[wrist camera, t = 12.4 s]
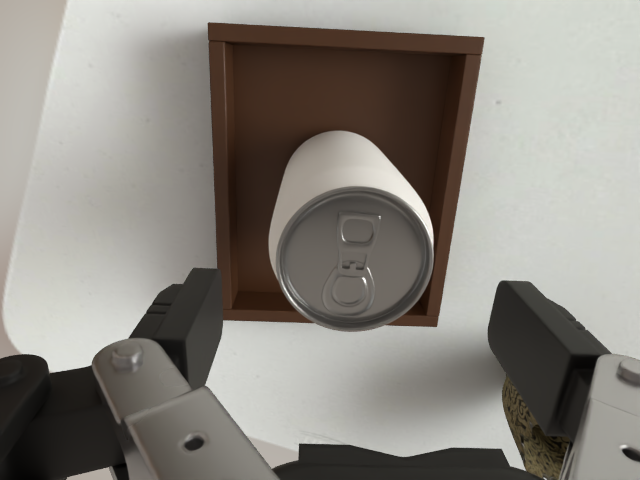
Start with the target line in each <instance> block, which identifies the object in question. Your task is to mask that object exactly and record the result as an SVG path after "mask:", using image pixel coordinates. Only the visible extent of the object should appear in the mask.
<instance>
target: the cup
mask: <svg viewBox="0 0 640 480" xmlns="http://www.w3.org/2000/svg"><path fill="white" fill-rule="evenodd" d="M502 402H503V408H504V412H505V415H506V419H507V422H508V424H509V427H510V430H511V432H512V435H513V438H514V440H515V443H516V445H517V448H518V450H519V453H520V455H521V458H522V460H523V464H524V467H525V469H526V471H527V472H529V473H532V474H534V475H536V476H539V477H541V478H544V477H545V478H546V479H547V480H559V476H560V473H561V469H562V465H563V461H564V458H565V454H566V451H567V448H568V445H569V442H570V439H569V438H568V437H559V436H545V434H544V433H543V431H542V429H541V428H540V426H539V425H538V423H537V421H536V420H535V418H534V417H533V415H532V414H531V412H530V410H529V409H528V407H527V406H526V404H525V402H524V401H523V399H522V398H521V396H520V394H519V393H518V391H517V390H516V388H515V387H514V385H513V383H512V382H511V380H510V379H509V377H508V375H507V374H506V379H505V382H504V385H503V390H502Z"/></svg>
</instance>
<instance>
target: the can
mask: <svg viewBox="0 0 640 480" xmlns="http://www.w3.org/2000/svg"><path fill="white" fill-rule="evenodd" d="M433 242H434V239H433V228H432V224H431V220H430V217H429V214H428V212H427V209H426V207H425V205H424V203H423V202H422V200H421V198H420V197H419V196H418V194H417V193H416V191H415V190H414V189H413V188H412V186H411V185H410V184H409V183H408V182H407V180H406V179H405V178H404V177H403V176H402V174H401V173H400V172H399V171H398V170H397V169H396V168H395V166H394V165H393V164H392V163H391V162H390V161H389V160H388V158H387V157H386V156H385V155H384V154H383V153H382V152H381V151H380V150H379V148H378V147H377V146H375V145H374V144H373V143H372V142H371V141H369V140H368V139H366V138H365V137H363V136H361V135H358V134H356V133H352V132H348V131H328V132H324V133H321V134H318V135H316V136H313V137H312V138H310V139H308V140H307V141H305V142H304V143H303V144H302V145H301V146H300V147H299V148H298V149H297V150H296V151H295V152H294V154H293V155H292V157H291V158H290V160H289V162H288V164H287V167H286V169H285V173H284V176H283V179H282V183H281V186H280V190H279V194H278V197H277V201H276V205H275V209H274V213H273V217H272V221H271V226H270V231H269V256H270V261H271V265H272V268H273V271H274V273H275V275H276V278H277V279H278V281H279V284H280V287H281V289H282V291H283V293H284V295H285V296H286V298H287V299H288V301H289V302H290V303H291V305H292V306H293V307H294V308H295V309H296V310H297V311H298V312H299V313H300V314H302V315H303V316H304V317H306V318H307V319H309V320H310V321H312V322H314V323H316V324H318V325H320V326H323V327H326V328H329V329H333V330H338V331H347V332H357V331H366V330H371V329H375V328H378V327H381V326H384V325H386V324H389V323H391V322H393V321H394V320H396V319H398V318H399V317H401V316H402V315H404V314H405V313H406V312H407V311H408V310H410V309H411V308H412V307H413V306H414V305H415V303H416V302H417V301H418V300H419V298H420V297H421V296H422V294H423V292H424V291H425V289H426V287H427V285H428V283H429V280H430V277H431V274H432V269H433V262H434V251H433Z"/></svg>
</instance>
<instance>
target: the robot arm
mask: <svg viewBox="0 0 640 480" xmlns="http://www.w3.org/2000/svg"><path fill="white" fill-rule="evenodd" d="M222 328H223V302H222V276H221V270H220V269H210V268H193V269H192V270H191V272H190V274H189V275H188V277H187V279H186V280H185V282H184V284H172V285H171V286H169V287H167V288H166V289H164V290H163V291H161V292H160V293H159V294H158V295H157V297H156V298H155V300H154V301H153V303H152V305H151V306H150V307H149V309H148V310H147V312H146V314H145V315H144V316H143V317H142V319H141V320H140V322H139V323H138V325H137V326H136V328H135V329H134V331H133V332H132V334H131V335H130V337H129V338H128V339H125V340H121V341H118V342H115V343H112V344H110V345H108V346H106V347H105V348H103V349H102V350H100V351H99V352H98V353H97V354H96V355H95V357H94V358H93V361H92V365H91V366H88V367H84V368H79V369H73V370H67V371H61V372H55V373H49V369H48V365H47V362H46V361H45V359H43V358H42V357H39V356H37V355H29V354H22V355H13V356H9V357H4V358H1V359H0V480H66V479H67V477H70V476H73V475H78V474H82V473H86V472H90V471H94V470H98V469H103V468H107V467H109V469H110V472H111V475H112V477H113V480H545V479H543V478H541V477H539V476H536V475H534V474H532V473H529V472H527V471H524V470H521V469H518V468H514V467H510V465H509V463H508V461H507V459H506V457H505V455H504V453H503V451H502V449H483V448H448V449H444V450H439V451H434V452H429V453H424V454H420V455H415V456H410V457H398V456H394V455H390V454H385V453H381V452H377V451H373V450H369V449H364V448H360V447H356V446H352V445H331V444H299V460H298V461H293V462H289V463H286V464H283V465H280V466H277V467H275V468H273V469H271V467H270V466H269V465H268V463H267V462H266V461H265V460H264V458H263V457H262V456H261V454H260V453H259V452H258V451H257V449H256V448H255V447H254V445H253V444H252V443H251V442H250V440H249V439H248V438H247V436H246V435H245V434H244V433H243V431H242V430H241V429H240V427H239V426H238V425H237V424H236V422H235V421H234V420H233V418H232V417H231V416H230V414H229V413H228V412H227V411H226V409H225V408H224V407H223V405H222V404H221V403H220V402H219V400H218V399H217V398H216V396H215V395H214V394H213V393H212V391H211V390H210V389H209V388H208V387H207V386H205V384H206V381H207V378H208V375H209V372H210V369H211V366H212V363H213V360H214V357H215V354H216V351H217V348H218V345H219V342H220V339H221V335H222ZM488 342H489V345H490V348H491V350H492V352H493V353H494V355H495V356H496V358H497V360H498V361H499V363H500V364H501V366H502V367H503V369H504V371H505V372H506V374H507V375H508V377H509V379H510V380H511V382H512V383H513V385H514V387H515V388H516V390H517V391H518V393H519V394H520V396H521V398H522V399H523V401H524V402H525V404H526V406H527V407H528V409H529V410H530V412H531V414H532V415H533V417H534V418H535V420H536V421H537V423H538V425H539V426H540V428H541V429H542V431H543V433H544V434H545V436H559V437H568V438H569V439H570V442H569V445H568V448H567V451H566V454H565V458H564V461H563V465H562V469H561V473H560V476H559V480H640V360H638V359H635V358H632V357H629V356H624V355H618V354H612V353H611V352H610V351H609V350H608V349H607V348H606V347H605V346H603V345H602V344H601V343H600V342H599V341H598V340H597V339H596V338H595V337H594V336H593V335H592V334H591V333H590V332H589V331H588V330H585V327H584V326H583V325H582V324H581V323H580V322H579V321H576V319H575V318H574V317H573V316H572V315H571V314H570V313H569V312H568V311H567V310H566V309H565V308H563V307H562V306H560V305H558V304H556V303H555V302H553V301H551V300H549V299H547V298H546V297H545V296H544V295H543V294H542V293H541V292H540V291H539V290H538V289H537V288H536V287H535V286H534V285H533V284H532V283H531V282H528V281H501V282H500V283H499V284H498V287H497V290H496V294H495V299H494V303H493V308H492V312H491V317H490V321H489V326H488Z"/></svg>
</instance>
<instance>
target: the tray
mask: <svg viewBox="0 0 640 480" xmlns="http://www.w3.org/2000/svg"><path fill="white" fill-rule="evenodd" d="M208 40H209V64H210V90H211V115H212V141H213V166H214V192H215V217H216V243H217V268H218V269H220V270H221V276H222V302H223V320H234V321H266V322H297V323H314V322H312V321H310V320H309V319H307V318H306V317H304V316H303V315H302V314H300V313H299V312H298V311H297V310H296V309H295V308H294V307H293V306H292V305H291V303H290V302H289V301H288V299H287V298H286V296H285V295H284V293H283V291H282V289H281V287H280V284H279V281H278V279H277V278H276V275H275V273H274V271H273V268H272V265H271V261H270V256H269V231H270V226H271V221H272V217H273V213H274V209H275V205H276V201H277V197H278V194H279V190H280V186H281V183H282V179H283V176H284V173H285V169H286V167H287V164H288V162H289V160H290V158H291V157H292V155H293V154H294V152H295V151H296V150H297V149H298V148H299V147H300V146H301V145H302V144H303V143H304V142H305V141H307V140H308V139H310V138H312V137H313V136H316V135H318V134H321V133H324V132H328V131H348V132H352V133H356V134H358V135H361V136H363V137H365V138H366V139H368V140H369V141H371V142H372V143H373V144H374V145H375V146H377V147H378V148H379V150H380V151H381V152H382V153H383V154H384V155H385V156H386V157H387V158H388V160H389V161H390V162H391V163H392V164H393V165H394V166H395V168H396V169H397V170H398V171H399V172H400V173H401V174H402V176H403V177H404V178H405V179H406V180H407V182H408V183H409V184H410V185H411V186H412V188H413V189H414V190H415V191H416V193H417V194H418V196H419V197H420V198H421V200H422V202H423V203H424V205H425V207H426V209H427V212H428V214H429V217H430V220H431V224H432V228H433V239H434V242H433V251H434V262H433V269H432V274H431V277H430V280H429V283H428V285H427V287H426V289H425V291H424V292H423V294H422V296H421V297H420V298H419V300H418V301H417V302H416V303H415V305H414V306H413V307H412V308H411V309H410V310H408V311H407V312H406V313H405V314H404V315H402V316H401V317H399V318H398V319H396V320H394V321H393V322H391V323H389V324H386V325H392V326H423V327H437V323H438V316H439V313H440V306H441V300H442V294H443V288H444V282H445V276H446V270H447V264H448V258H449V252H450V245H451V239H452V233H453V227H454V221H455V215H456V209H457V203H458V197H459V191H460V185H461V178H462V172H463V166H464V160H465V154H466V148H467V142H468V136H469V130H470V124H471V118H472V111H473V105H474V99H475V93H476V87H477V81H478V75H479V69H480V63H481V57H482V56H481V54H482V51H483V45H484V37H470V36H451V35H433V34H414V33H396V32H377V31H358V30H340V29H321V28H303V27H284V26H265V25H247V24H228V23H210V22H209V23H208Z"/></svg>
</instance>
